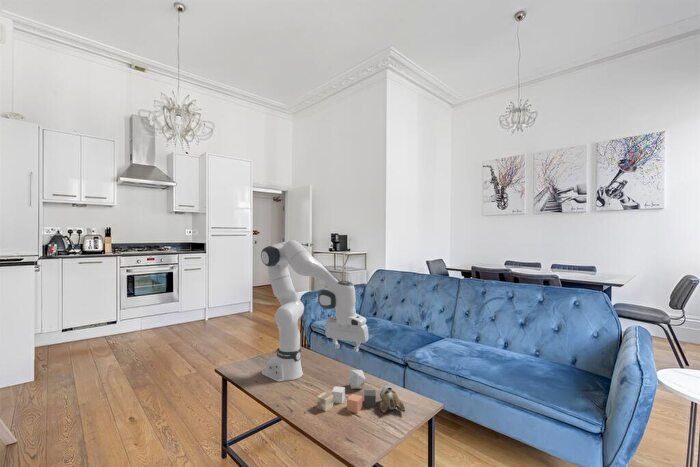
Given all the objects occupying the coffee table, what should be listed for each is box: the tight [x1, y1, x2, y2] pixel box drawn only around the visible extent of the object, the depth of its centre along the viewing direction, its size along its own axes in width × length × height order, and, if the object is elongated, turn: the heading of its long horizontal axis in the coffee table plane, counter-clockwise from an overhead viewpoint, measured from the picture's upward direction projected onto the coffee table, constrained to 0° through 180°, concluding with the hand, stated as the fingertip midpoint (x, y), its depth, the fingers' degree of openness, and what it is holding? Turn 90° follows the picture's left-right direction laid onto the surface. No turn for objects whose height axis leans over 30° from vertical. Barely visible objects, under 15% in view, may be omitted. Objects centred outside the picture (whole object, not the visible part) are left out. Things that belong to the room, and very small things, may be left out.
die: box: [348, 369, 367, 390], centre depth 157 cm, size 8×9×10 cm
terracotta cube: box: [346, 393, 364, 414], centre depth 138 cm, size 5×5×5 cm
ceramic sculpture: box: [379, 382, 406, 413], centre depth 139 cm, size 11×9×15 cm
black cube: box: [363, 389, 377, 408], centre depth 142 cm, size 5×5×5 cm
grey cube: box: [331, 385, 346, 404], centre depth 145 cm, size 5×5×5 cm
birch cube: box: [316, 391, 334, 412], centre depth 139 cm, size 5×5×5 cm
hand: (346, 349), depth 140 cm, fingers open, 8 cm apart
